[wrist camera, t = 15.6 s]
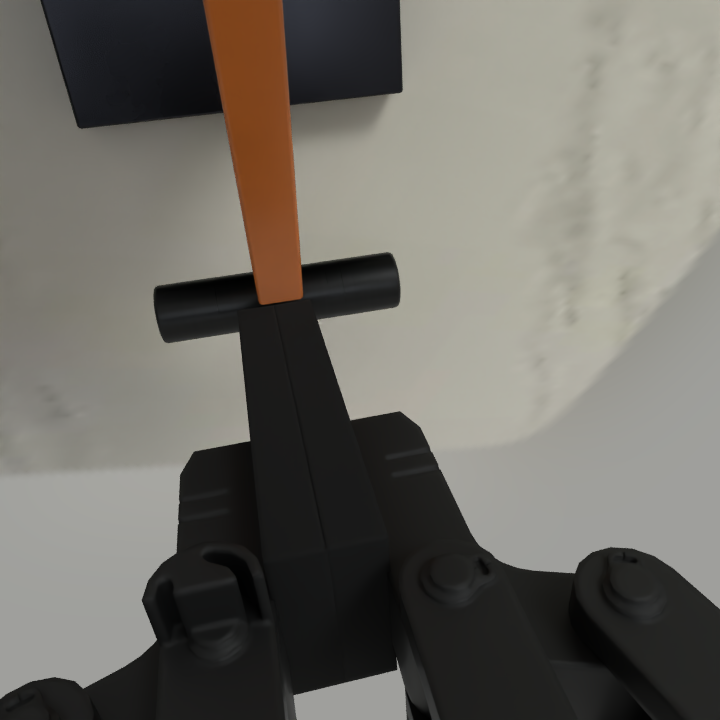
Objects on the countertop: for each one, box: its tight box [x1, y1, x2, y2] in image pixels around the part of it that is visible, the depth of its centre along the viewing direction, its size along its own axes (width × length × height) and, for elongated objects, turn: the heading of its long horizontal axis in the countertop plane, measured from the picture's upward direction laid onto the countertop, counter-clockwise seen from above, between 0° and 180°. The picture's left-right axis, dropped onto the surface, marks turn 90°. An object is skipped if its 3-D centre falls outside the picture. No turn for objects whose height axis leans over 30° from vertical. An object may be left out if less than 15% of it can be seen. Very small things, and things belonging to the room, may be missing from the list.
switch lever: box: [153, 0, 400, 343], centre depth 11 cm, size 13×6×2 cm
